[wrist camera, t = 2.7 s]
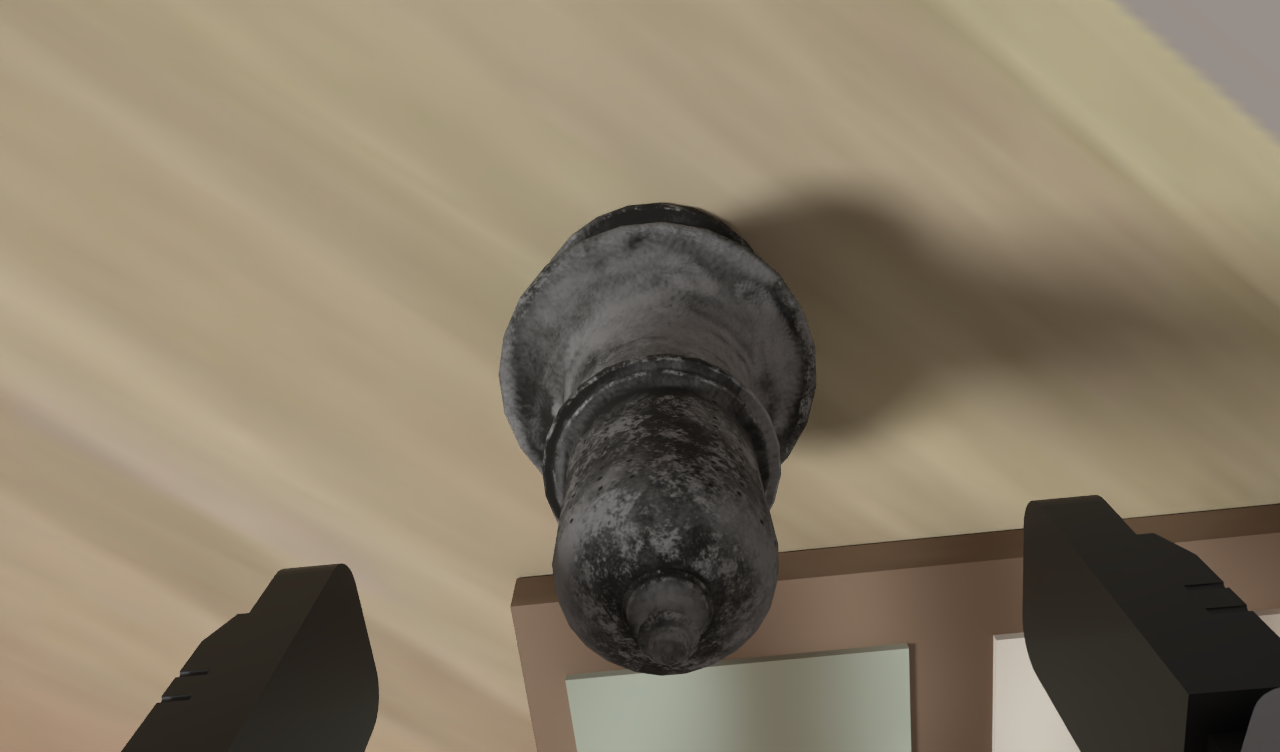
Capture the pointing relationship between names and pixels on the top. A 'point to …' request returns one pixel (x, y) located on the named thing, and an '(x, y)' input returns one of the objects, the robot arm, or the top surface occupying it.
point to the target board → (860, 652)
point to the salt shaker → (660, 429)
